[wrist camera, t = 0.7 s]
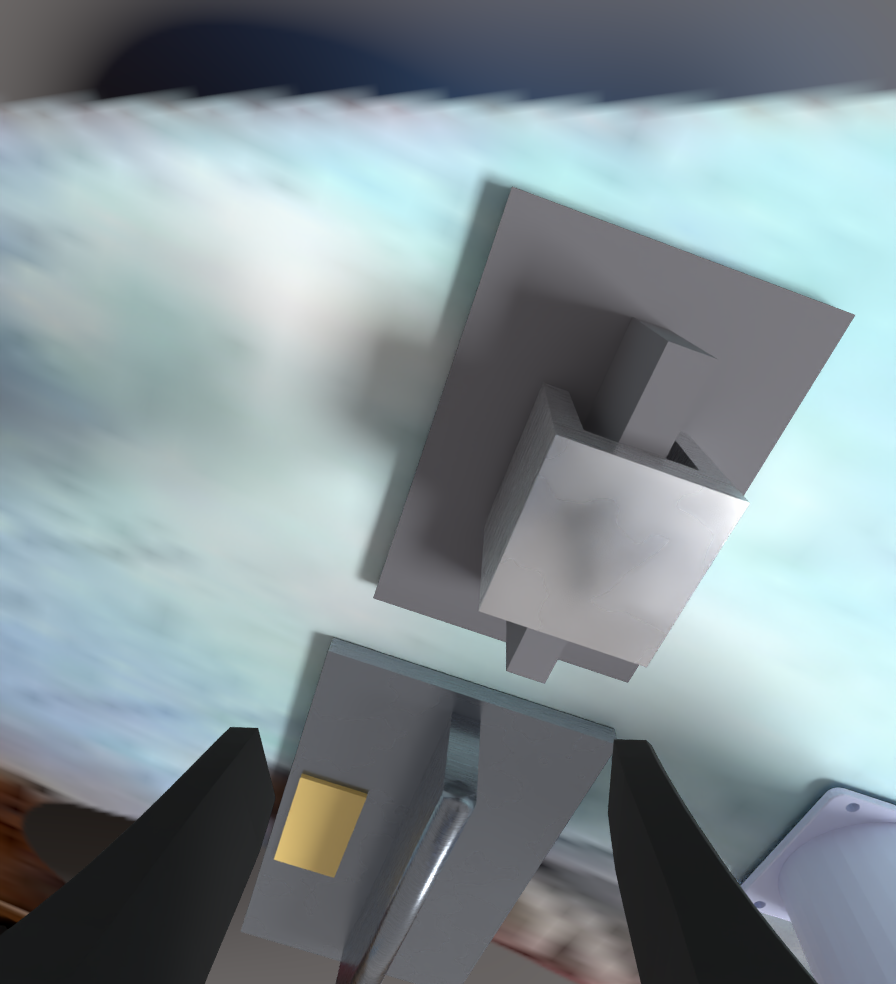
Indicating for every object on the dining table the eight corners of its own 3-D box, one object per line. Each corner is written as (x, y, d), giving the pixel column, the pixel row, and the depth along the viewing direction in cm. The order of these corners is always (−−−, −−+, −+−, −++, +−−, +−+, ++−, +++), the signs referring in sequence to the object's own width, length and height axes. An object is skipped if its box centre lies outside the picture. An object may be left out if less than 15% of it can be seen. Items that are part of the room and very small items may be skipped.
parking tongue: (840, 311, 17) (958, 339, 12) (624, 667, 22) (652, 773, 18) (511, 188, 16) (513, 172, 12) (377, 585, 22) (345, 674, 18)
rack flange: (614, 729, 24) (640, 847, 19) (456, 978, 32) (448, 1101, 27) (333, 637, 23) (291, 736, 19) (246, 915, 31) (202, 1031, 27)
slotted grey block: (688, 434, 17) (750, 502, 13) (614, 569, 19) (646, 667, 15) (543, 382, 17) (555, 434, 13) (484, 524, 19) (478, 611, 15)
